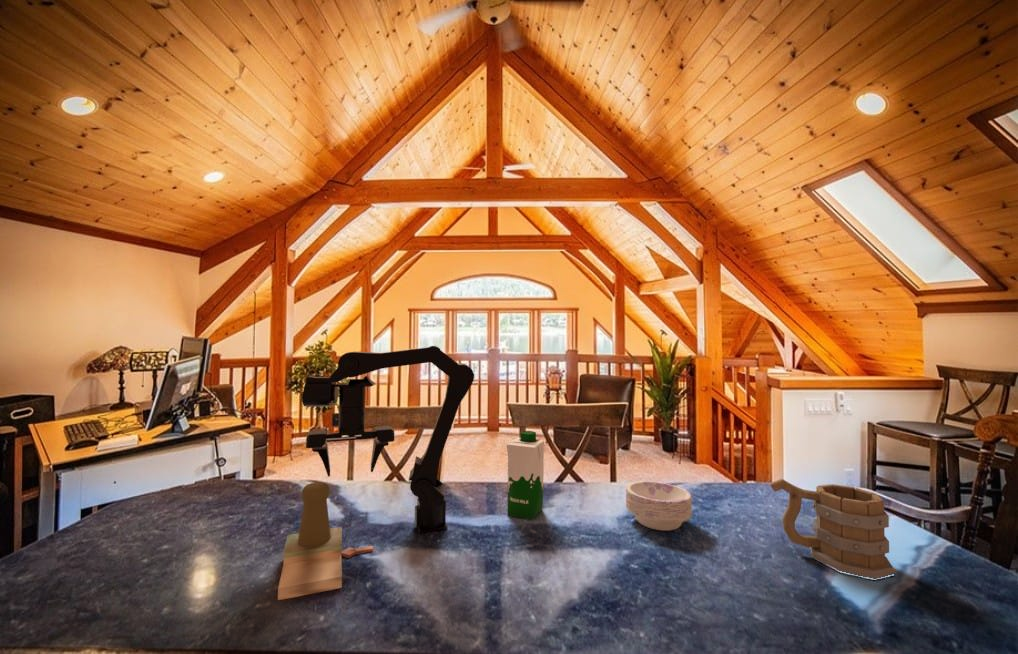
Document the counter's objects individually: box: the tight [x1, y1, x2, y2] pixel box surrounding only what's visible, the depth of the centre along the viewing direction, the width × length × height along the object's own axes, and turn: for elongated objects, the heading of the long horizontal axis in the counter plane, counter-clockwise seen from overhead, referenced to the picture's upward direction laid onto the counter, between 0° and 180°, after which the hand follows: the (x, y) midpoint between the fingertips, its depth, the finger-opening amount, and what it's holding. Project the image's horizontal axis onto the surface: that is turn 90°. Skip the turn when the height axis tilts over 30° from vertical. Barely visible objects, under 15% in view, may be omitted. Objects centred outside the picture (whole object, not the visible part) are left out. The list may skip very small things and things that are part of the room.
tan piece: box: [277, 526, 374, 601], centre depth 82 cm, size 16×16×4 cm
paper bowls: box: [625, 480, 693, 532], centre depth 103 cm, size 15×15×8 cm
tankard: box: [769, 478, 896, 579], centre depth 87 cm, size 20×13×15 cm, turn 62°
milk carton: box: [506, 430, 545, 521], centre depth 108 cm, size 9×9×20 cm
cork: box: [298, 481, 331, 547], centre depth 84 cm, size 6×6×11 cm
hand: (350, 473), depth 97 cm, fingers open, 9 cm apart
